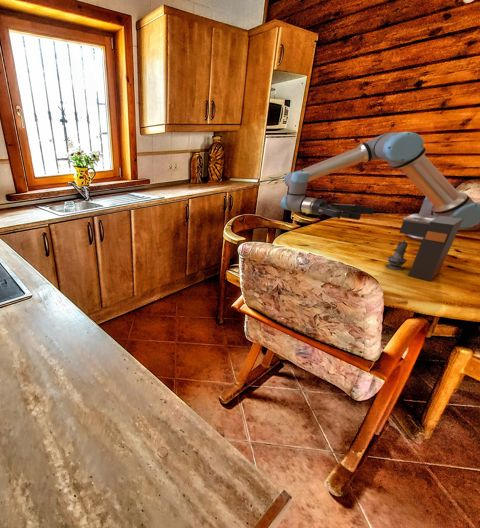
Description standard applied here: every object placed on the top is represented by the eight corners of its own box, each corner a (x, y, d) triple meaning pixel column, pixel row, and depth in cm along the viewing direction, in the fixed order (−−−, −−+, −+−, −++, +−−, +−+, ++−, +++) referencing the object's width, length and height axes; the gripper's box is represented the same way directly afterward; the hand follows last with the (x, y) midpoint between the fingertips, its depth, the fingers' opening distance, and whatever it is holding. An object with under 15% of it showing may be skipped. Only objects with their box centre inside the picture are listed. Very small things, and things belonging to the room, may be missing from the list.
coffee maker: (396, 262, 120) (414, 212, 111) (439, 272, 110) (463, 218, 101) (384, 270, 114) (403, 218, 105) (428, 281, 104) (453, 225, 95)
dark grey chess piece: (407, 270, 113) (418, 242, 108) (390, 269, 114) (400, 242, 109) (397, 264, 118) (407, 237, 113) (381, 263, 119) (391, 237, 114)
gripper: (325, 209, 143) (375, 217, 127) (299, 218, 131) (351, 227, 115) (328, 195, 140) (381, 201, 124) (302, 202, 128) (356, 210, 112)
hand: (367, 213), depth 119 cm, fingers open, 13 cm apart
